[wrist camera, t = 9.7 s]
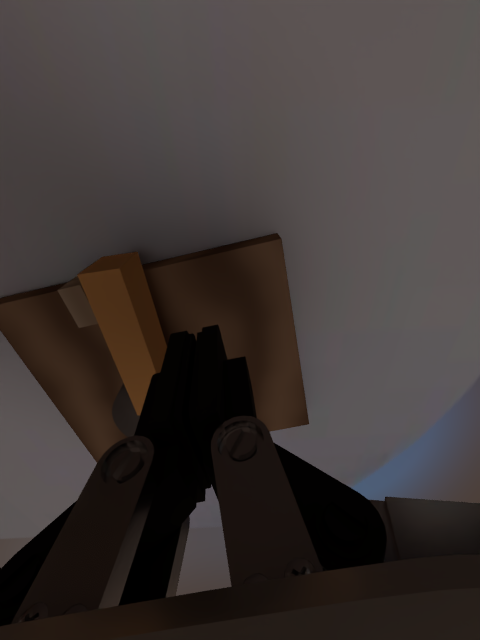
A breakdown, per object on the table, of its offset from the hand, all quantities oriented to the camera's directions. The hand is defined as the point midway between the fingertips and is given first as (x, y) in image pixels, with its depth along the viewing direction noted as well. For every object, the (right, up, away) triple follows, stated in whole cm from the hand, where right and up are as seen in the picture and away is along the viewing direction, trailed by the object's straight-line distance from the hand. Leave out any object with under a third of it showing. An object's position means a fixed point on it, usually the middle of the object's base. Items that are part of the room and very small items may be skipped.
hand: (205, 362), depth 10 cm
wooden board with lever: (-5, -3, +18) cm, 19 cm away
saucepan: (-6, -1, +12) cm, 14 cm away
